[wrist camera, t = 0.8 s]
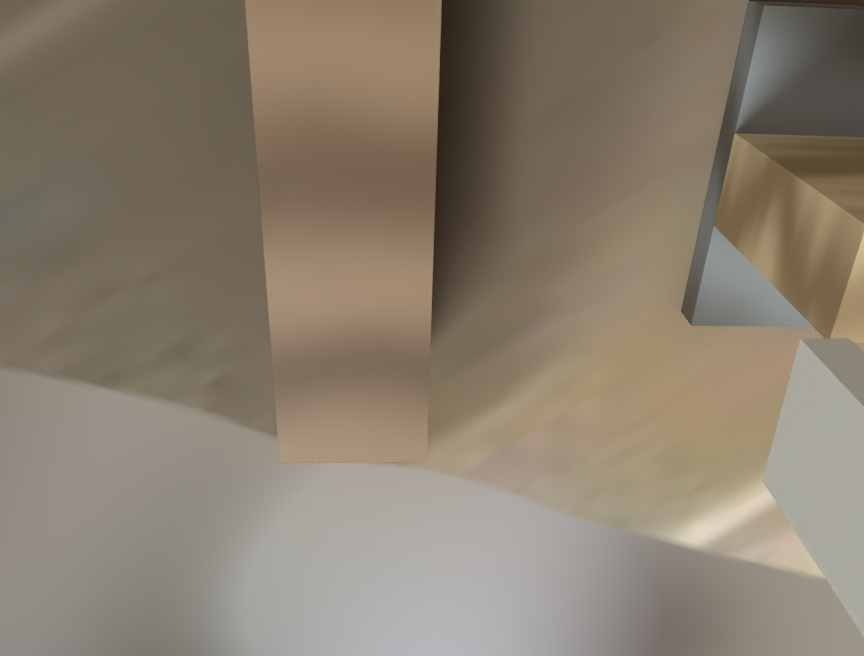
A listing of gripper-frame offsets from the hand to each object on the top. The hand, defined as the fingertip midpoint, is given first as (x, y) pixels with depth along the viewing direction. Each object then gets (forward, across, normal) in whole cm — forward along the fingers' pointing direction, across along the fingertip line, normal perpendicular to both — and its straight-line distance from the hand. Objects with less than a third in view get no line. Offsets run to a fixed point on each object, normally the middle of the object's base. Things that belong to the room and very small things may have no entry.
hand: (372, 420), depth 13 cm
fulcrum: (+19, +17, -2) cm, 25 cm away
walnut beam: (+19, -1, 0) cm, 19 cm away
